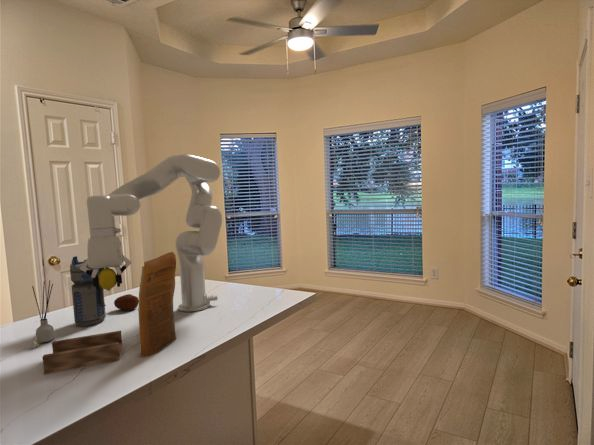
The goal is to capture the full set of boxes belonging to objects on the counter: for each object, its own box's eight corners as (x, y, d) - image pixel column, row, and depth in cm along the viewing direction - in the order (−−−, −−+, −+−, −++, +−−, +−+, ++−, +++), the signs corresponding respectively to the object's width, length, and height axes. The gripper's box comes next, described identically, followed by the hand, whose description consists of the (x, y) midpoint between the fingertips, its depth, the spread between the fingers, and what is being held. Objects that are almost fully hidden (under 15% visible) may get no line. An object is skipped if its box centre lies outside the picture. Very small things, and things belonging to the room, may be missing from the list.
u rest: (122, 345, 113) (121, 330, 113) (119, 360, 102) (118, 343, 102) (54, 356, 106) (53, 341, 106) (44, 374, 96) (42, 357, 95)
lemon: (120, 290, 120) (118, 266, 119) (102, 294, 116) (100, 269, 115) (114, 287, 124) (112, 264, 123) (96, 291, 120) (94, 267, 119)
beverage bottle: (97, 328, 129) (91, 259, 127) (66, 326, 132) (60, 259, 130) (117, 318, 139) (112, 254, 137) (88, 317, 142) (83, 254, 140)
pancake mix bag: (188, 334, 119) (182, 250, 117) (150, 361, 101) (143, 261, 99) (170, 333, 121) (164, 250, 119) (130, 359, 103) (122, 261, 101)
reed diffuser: (47, 336, 123) (41, 278, 121) (67, 336, 123) (62, 278, 121) (25, 349, 112) (18, 286, 111) (47, 348, 113) (41, 285, 111)
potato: (131, 312, 145) (129, 297, 145) (111, 312, 147) (109, 296, 147) (142, 307, 152) (140, 292, 152) (122, 306, 154) (121, 292, 154)
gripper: (132, 230, 125) (137, 281, 127) (75, 234, 119) (80, 288, 120) (131, 231, 118) (136, 286, 120) (70, 236, 112) (76, 294, 113)
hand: (108, 286), depth 120 cm, fingers closed on lemon, 5 cm apart
